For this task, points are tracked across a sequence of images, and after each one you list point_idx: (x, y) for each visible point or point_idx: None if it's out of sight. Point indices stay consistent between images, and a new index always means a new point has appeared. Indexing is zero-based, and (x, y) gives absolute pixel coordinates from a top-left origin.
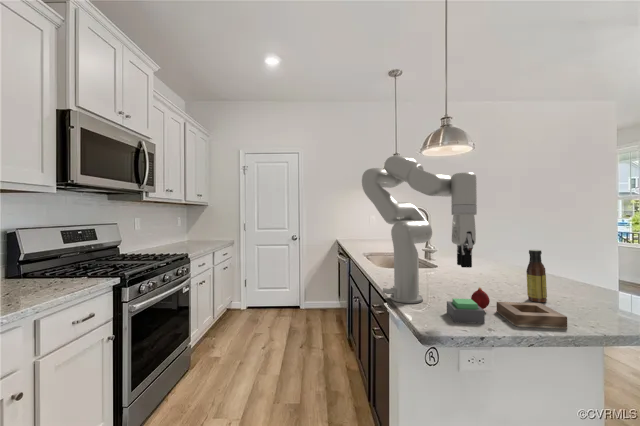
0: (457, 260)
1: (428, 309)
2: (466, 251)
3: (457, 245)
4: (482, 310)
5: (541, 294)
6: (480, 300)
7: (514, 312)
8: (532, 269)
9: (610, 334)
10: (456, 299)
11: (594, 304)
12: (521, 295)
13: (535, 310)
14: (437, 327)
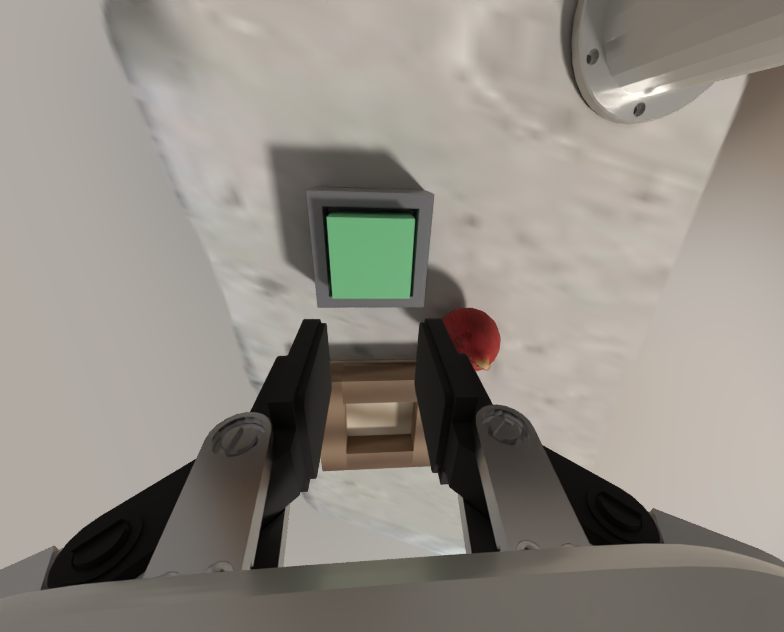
0: (434, 338)
1: (473, 113)
2: (132, 504)
3: (556, 533)
4: (317, 301)
5: None
6: None
7: (335, 386)
8: None
9: (309, 488)
10: (397, 233)
11: None
12: (580, 458)
13: (411, 438)
14: (230, 85)
